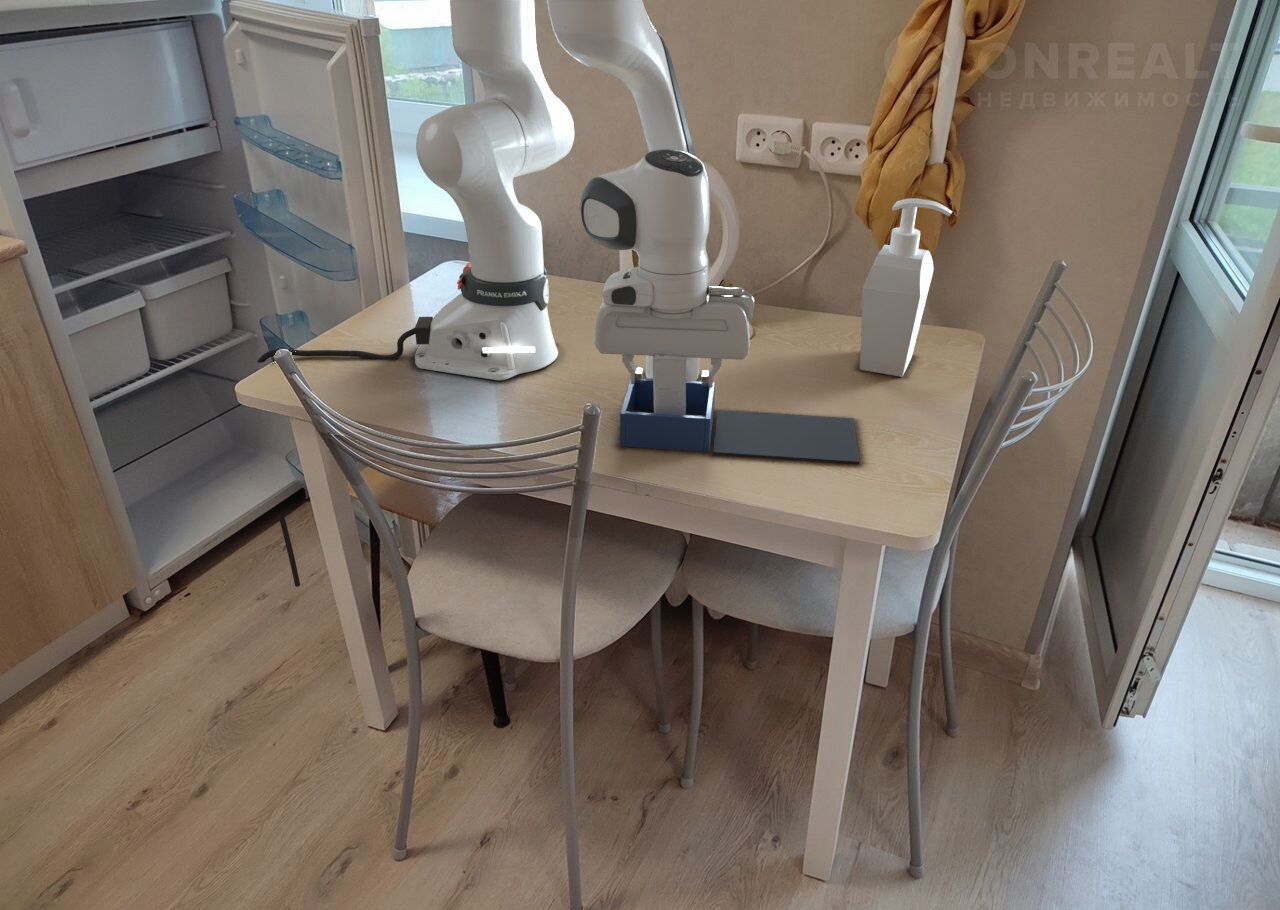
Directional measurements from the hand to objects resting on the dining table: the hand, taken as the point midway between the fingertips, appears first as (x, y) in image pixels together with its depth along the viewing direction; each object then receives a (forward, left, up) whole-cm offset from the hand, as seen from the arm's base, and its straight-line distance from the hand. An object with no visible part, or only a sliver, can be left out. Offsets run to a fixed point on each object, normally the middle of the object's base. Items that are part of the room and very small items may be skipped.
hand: (672, 384), depth 126 cm
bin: (0, 0, -7) cm, 7 cm away
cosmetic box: (0, 0, -7) cm, 7 cm away
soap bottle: (+33, +26, -7) cm, 42 cm away
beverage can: (-1, +16, -7) cm, 18 cm away
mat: (+16, 0, -7) cm, 17 cm away
